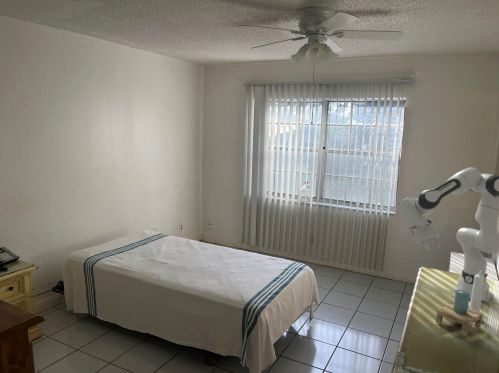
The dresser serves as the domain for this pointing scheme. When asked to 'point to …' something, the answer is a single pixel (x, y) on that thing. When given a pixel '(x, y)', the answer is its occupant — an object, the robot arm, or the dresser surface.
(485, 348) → the dresser surface
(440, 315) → the small wooden stool
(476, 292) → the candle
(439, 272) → the dresser surface
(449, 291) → the dresser surface
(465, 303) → the teal domed cylinder
